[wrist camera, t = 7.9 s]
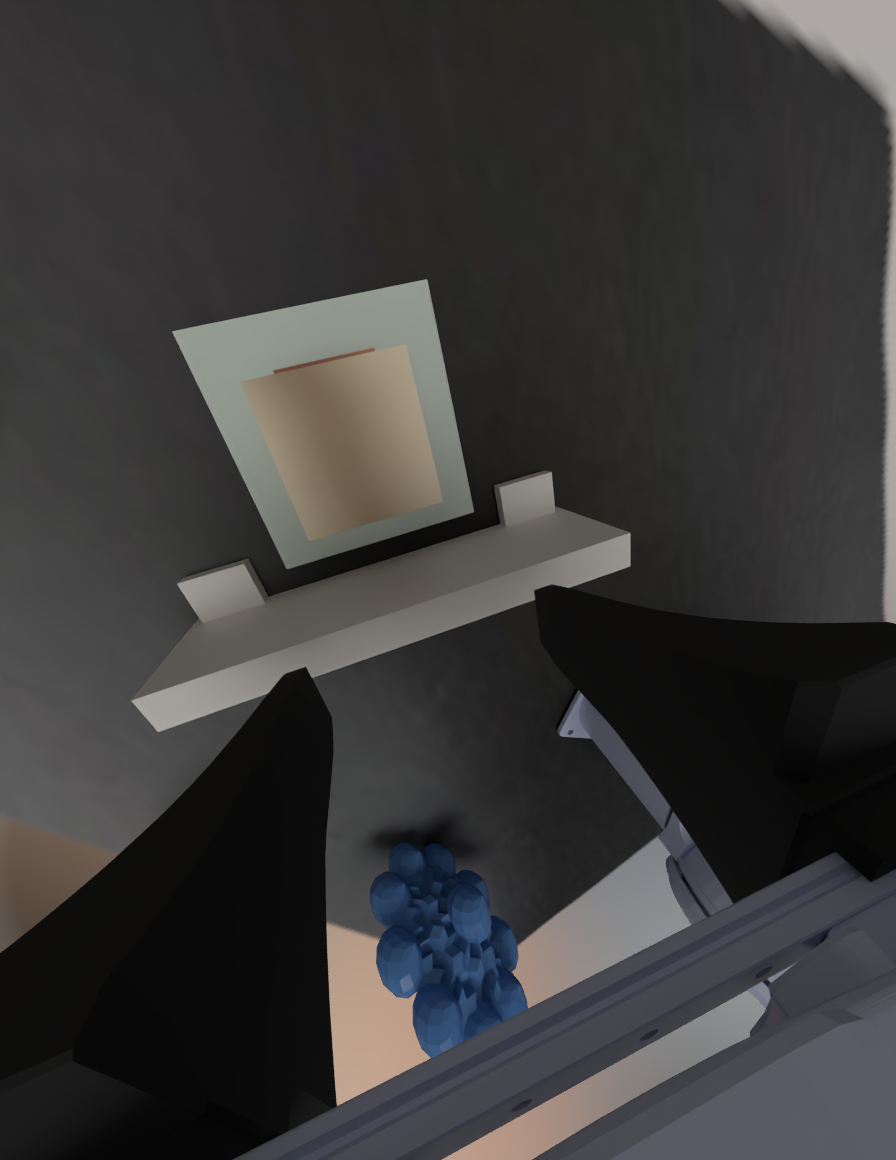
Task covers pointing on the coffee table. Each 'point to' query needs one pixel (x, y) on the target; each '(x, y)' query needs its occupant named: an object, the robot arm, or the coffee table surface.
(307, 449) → the maple cube
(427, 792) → the coffee table surface
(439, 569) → the grey screen
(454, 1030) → the grapes
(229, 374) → the sage mat
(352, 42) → the coffee table surface
